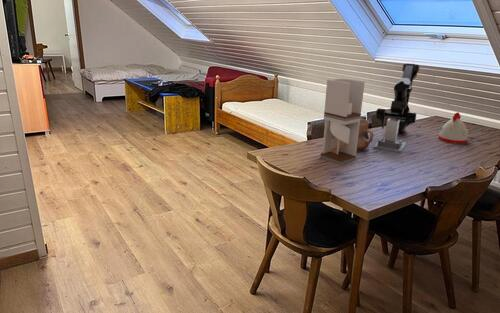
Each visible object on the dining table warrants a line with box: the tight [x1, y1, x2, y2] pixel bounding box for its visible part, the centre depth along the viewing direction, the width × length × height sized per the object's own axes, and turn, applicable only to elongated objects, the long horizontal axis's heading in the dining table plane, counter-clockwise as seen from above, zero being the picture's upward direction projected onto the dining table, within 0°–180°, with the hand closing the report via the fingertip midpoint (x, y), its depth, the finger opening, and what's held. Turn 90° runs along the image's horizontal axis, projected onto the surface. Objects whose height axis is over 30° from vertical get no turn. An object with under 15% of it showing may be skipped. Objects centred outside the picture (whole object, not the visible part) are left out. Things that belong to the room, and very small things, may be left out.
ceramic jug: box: [356, 118, 374, 152], centre depth 191 cm, size 18×14×14 cm
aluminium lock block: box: [384, 117, 400, 143], centre depth 196 cm, size 5×5×14 cm
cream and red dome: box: [437, 111, 469, 144], centre depth 212 cm, size 14×14×15 cm
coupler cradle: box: [373, 136, 407, 153], centre depth 199 cm, size 16×13×4 cm
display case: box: [319, 77, 366, 165], centre depth 173 cm, size 11×11×35 cm
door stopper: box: [360, 115, 370, 141], centre depth 209 cm, size 9×6×12 cm, turn 40°
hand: (392, 129), depth 195 cm, fingers open, 9 cm apart
